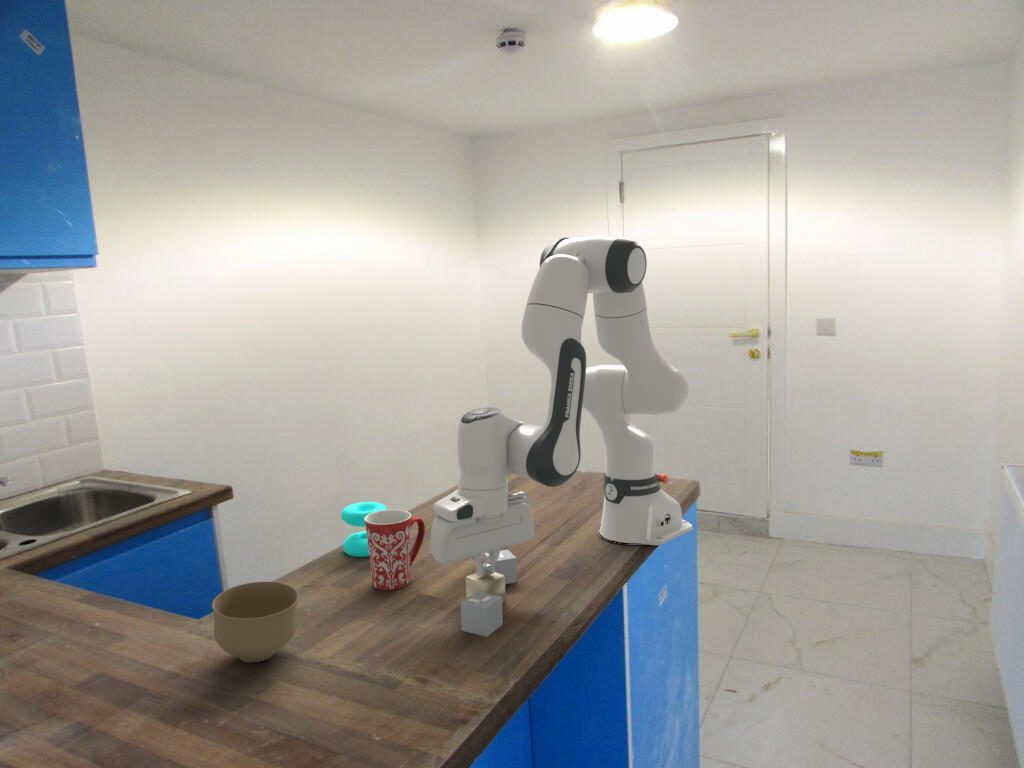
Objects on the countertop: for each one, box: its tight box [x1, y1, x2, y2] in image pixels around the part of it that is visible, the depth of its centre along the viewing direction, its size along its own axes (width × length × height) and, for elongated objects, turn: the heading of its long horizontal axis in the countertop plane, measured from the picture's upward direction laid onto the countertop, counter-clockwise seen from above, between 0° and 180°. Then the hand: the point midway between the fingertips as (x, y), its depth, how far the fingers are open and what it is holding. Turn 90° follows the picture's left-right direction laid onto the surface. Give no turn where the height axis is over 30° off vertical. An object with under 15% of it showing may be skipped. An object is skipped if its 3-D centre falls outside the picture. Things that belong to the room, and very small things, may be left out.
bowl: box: [211, 581, 300, 663], centre depth 112 cm, size 13×13×10 cm
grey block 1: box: [460, 591, 504, 638], centre depth 121 cm, size 5×5×5 cm
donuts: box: [340, 501, 388, 558], centre depth 159 cm, size 10×10×10 cm
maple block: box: [465, 572, 506, 604], centre depth 131 cm, size 5×5×5 cm
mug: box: [364, 509, 426, 591], centre depth 141 cm, size 13×9×14 cm
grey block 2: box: [483, 549, 518, 585], centre depth 141 cm, size 5×5×5 cm
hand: (485, 574), depth 130 cm, fingers closed
